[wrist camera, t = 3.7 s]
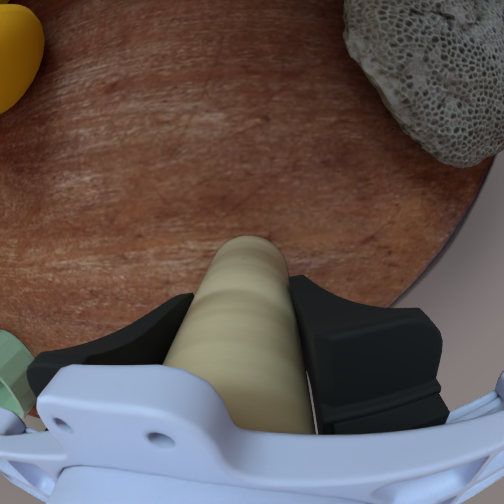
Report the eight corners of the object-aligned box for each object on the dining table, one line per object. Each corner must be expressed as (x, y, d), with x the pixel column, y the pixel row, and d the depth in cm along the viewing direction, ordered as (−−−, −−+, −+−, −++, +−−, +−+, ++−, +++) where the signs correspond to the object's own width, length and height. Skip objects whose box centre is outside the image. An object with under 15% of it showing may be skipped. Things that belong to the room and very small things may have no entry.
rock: (535, 64, 9) (578, 67, 5) (444, 201, 15) (492, 231, 11) (402, -85, 6) (430, -114, 1) (258, 24, 11) (257, -15, 7)
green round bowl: (59, 396, 20) (37, 426, 16) (18, 388, 21) (-2, 412, 17) (20, 329, 18) (-10, 356, 14) (-16, 329, 19) (-41, 350, 15)
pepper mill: (292, 298, 16) (327, 547, 4) (221, 310, 16) (160, 543, 4) (280, 228, 15) (328, 492, 2) (203, 242, 15) (61, 471, 3)
